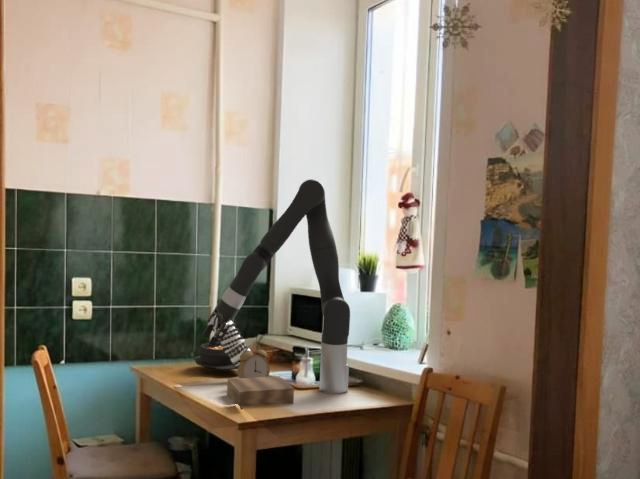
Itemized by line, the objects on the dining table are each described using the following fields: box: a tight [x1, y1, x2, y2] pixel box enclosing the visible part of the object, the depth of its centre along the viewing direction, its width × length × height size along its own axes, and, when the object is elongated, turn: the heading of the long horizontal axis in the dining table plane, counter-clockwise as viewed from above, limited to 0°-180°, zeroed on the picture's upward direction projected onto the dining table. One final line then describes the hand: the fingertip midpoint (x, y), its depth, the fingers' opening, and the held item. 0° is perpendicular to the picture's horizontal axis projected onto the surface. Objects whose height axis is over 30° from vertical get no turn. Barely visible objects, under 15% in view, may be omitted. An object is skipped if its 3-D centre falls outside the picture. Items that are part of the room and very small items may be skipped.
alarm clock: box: [237, 343, 270, 378], centre depth 240 cm, size 11×5×15 cm, turn 126°
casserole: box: [193, 342, 236, 371], centre depth 267 cm, size 25×19×8 cm
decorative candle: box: [212, 319, 253, 374], centre depth 249 cm, size 9×9×25 cm
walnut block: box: [226, 375, 295, 407], centre depth 223 cm, size 18×16×6 cm
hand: (207, 341), depth 240 cm, fingers open, 8 cm apart
